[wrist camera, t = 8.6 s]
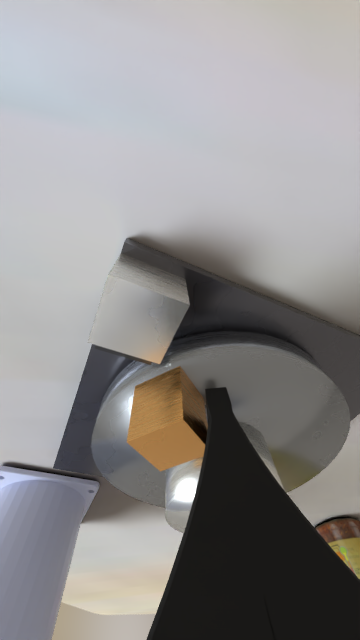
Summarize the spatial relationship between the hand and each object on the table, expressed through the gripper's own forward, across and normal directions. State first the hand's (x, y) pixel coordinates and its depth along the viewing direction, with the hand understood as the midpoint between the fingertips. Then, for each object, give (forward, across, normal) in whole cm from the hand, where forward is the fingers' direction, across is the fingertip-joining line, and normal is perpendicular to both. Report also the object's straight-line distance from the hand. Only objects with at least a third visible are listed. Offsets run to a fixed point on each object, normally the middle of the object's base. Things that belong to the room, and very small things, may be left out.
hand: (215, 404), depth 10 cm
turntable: (+3, 0, +6) cm, 7 cm away
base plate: (+4, 0, +6) cm, 7 cm away
